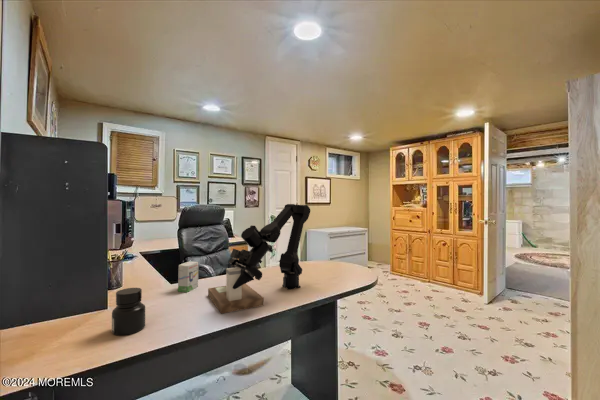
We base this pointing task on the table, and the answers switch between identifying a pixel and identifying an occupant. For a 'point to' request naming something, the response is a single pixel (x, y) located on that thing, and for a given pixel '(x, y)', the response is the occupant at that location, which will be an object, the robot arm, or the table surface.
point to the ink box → (187, 276)
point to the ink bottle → (128, 312)
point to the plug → (231, 278)
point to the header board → (224, 306)
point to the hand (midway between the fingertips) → (230, 286)
